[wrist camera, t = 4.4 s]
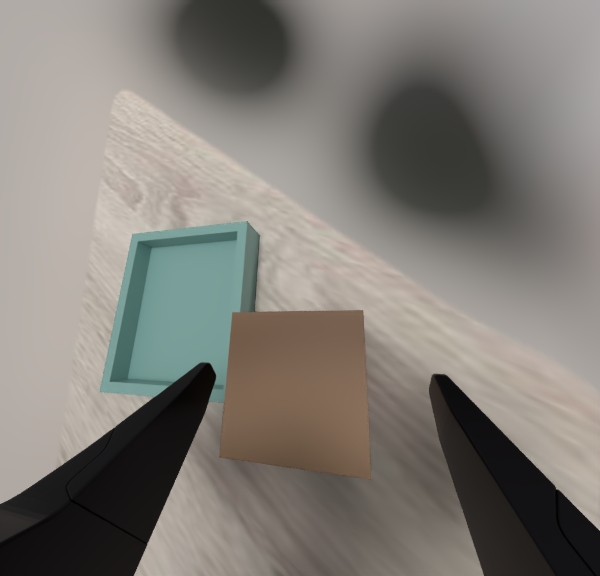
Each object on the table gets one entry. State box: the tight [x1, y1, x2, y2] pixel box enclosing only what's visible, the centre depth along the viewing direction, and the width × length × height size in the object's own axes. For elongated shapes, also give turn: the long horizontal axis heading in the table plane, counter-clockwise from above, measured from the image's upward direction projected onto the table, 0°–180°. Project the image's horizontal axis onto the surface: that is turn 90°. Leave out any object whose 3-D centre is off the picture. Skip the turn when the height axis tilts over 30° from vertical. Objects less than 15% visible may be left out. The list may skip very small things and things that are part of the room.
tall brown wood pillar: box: [220, 310, 371, 479], centre depth 12 cm, size 4×4×10 cm
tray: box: [100, 221, 259, 403], centre depth 19 cm, size 14×12×2 cm
